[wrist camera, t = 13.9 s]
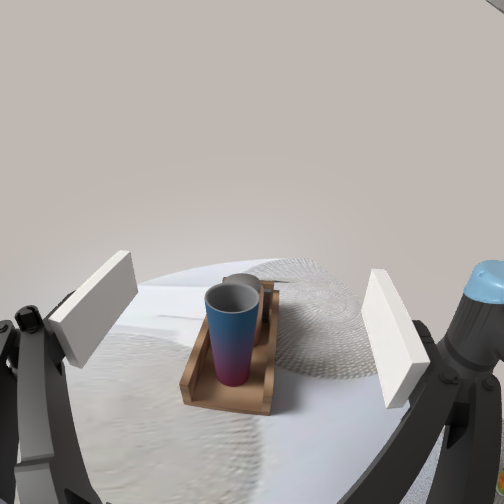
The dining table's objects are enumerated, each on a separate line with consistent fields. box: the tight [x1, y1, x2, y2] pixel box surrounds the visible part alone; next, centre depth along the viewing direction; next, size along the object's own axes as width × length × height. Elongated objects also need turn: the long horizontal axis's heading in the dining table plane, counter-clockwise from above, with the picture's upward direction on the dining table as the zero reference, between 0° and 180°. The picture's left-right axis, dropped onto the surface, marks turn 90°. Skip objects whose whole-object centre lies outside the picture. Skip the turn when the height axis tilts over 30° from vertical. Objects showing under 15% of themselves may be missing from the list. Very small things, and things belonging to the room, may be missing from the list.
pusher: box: [262, 289, 271, 323], centre depth 52 cm, size 1×9×9 cm, turn 84°
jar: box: [223, 274, 264, 346], centre depth 48 cm, size 7×7×11 cm
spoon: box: [258, 278, 300, 282], centre depth 69 cm, size 4×21×2 cm, turn 100°
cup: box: [205, 282, 260, 387], centre depth 38 cm, size 7×7×15 cm
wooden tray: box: [179, 277, 279, 416], centre depth 46 cm, size 26×12×7 cm, turn 174°
